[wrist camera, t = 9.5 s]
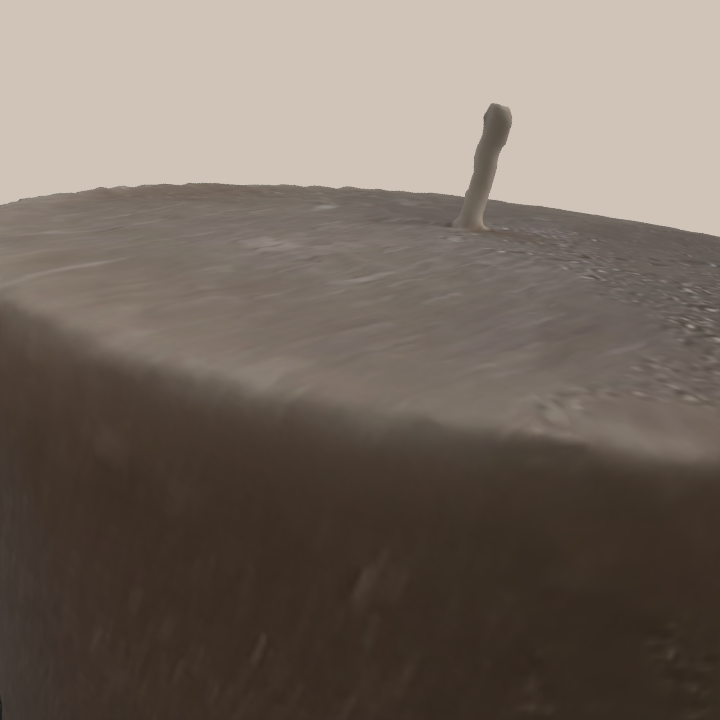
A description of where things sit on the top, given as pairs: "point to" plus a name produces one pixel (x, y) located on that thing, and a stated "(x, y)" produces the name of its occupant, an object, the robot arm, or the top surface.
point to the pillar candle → (356, 457)
